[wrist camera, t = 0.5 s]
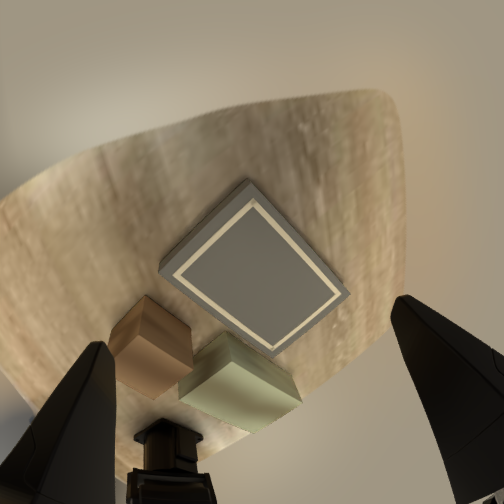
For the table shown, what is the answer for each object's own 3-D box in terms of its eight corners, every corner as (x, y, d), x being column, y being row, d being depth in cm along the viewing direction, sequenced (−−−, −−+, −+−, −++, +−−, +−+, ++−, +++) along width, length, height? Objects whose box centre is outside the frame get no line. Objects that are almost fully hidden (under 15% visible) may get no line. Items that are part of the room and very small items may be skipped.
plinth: (268, 347, 28) (272, 359, 27) (159, 263, 23) (157, 273, 21) (343, 285, 27) (351, 294, 25) (247, 178, 21) (251, 182, 20)
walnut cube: (155, 359, 26) (153, 400, 22) (111, 329, 24) (101, 370, 20) (190, 328, 26) (193, 369, 21) (145, 295, 24) (138, 334, 19)
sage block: (246, 405, 32) (253, 433, 28) (177, 368, 28) (178, 400, 24) (291, 375, 31) (302, 402, 27) (225, 330, 27) (231, 361, 23)
